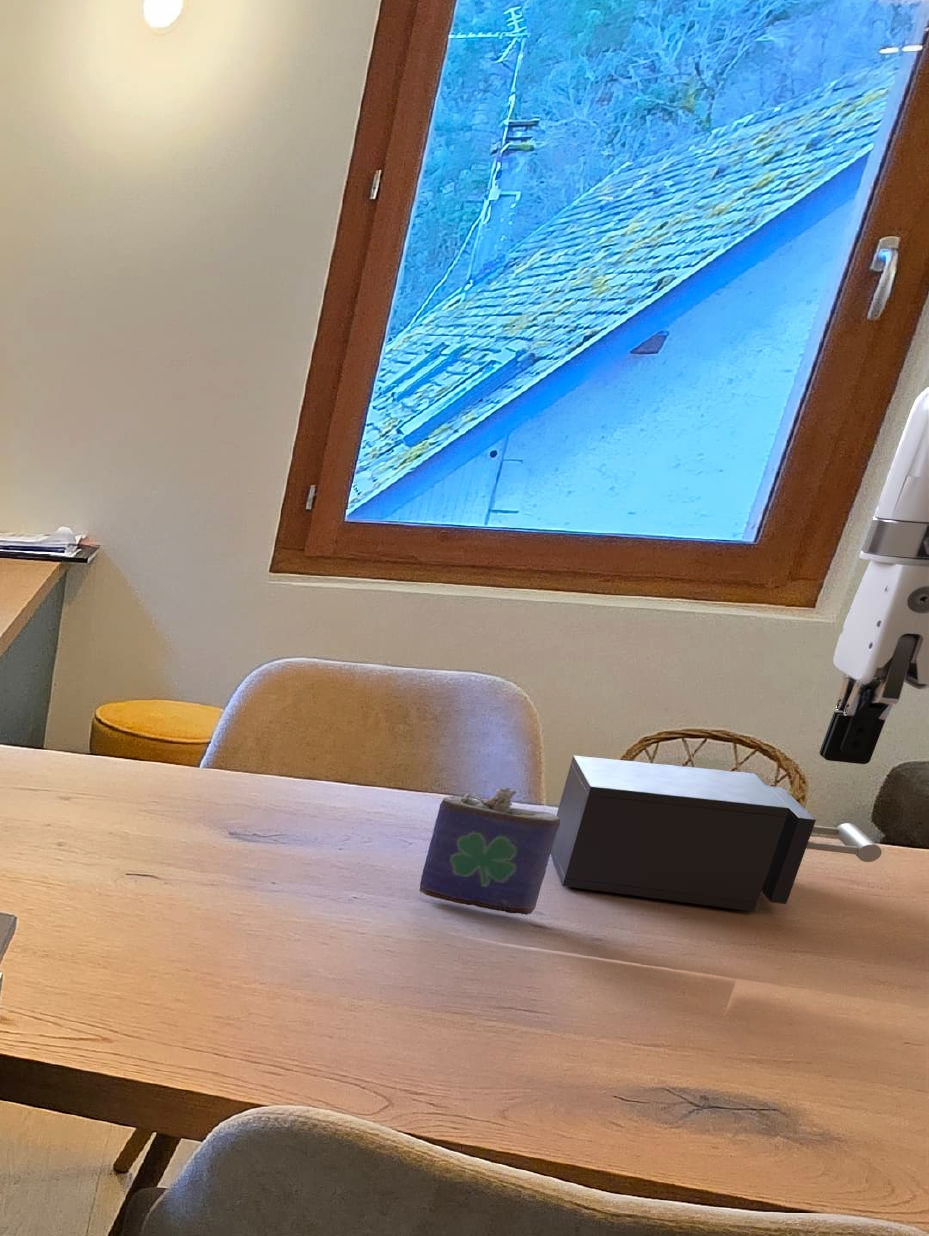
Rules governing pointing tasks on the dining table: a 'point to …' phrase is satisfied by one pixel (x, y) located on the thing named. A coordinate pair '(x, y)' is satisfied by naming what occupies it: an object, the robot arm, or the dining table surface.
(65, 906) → the dining table surface
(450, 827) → the flask
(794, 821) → the grey sliding drawer
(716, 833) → the drawer cabinet
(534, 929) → the dining table surface
